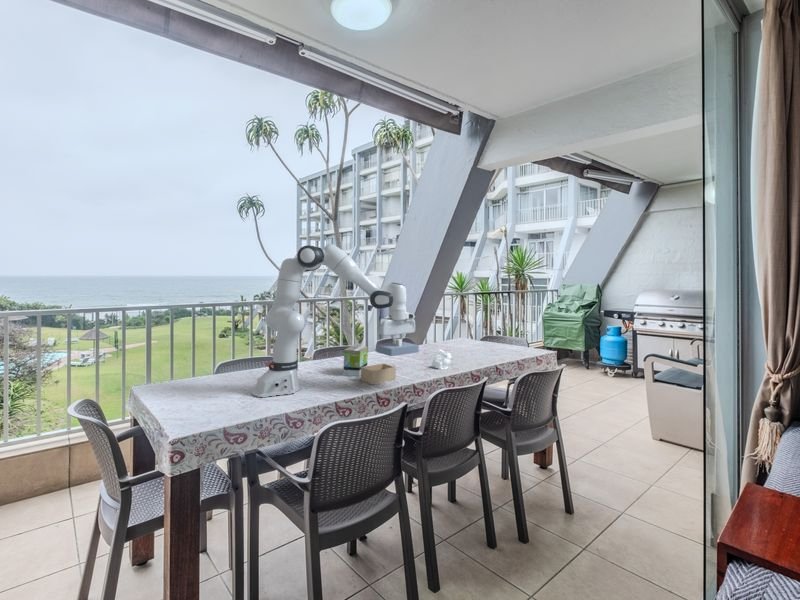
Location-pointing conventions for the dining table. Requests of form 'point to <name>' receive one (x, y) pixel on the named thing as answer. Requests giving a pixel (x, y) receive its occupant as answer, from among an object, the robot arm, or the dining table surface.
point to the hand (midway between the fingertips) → (397, 343)
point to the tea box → (355, 360)
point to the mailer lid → (397, 348)
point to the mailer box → (378, 373)
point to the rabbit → (441, 360)
